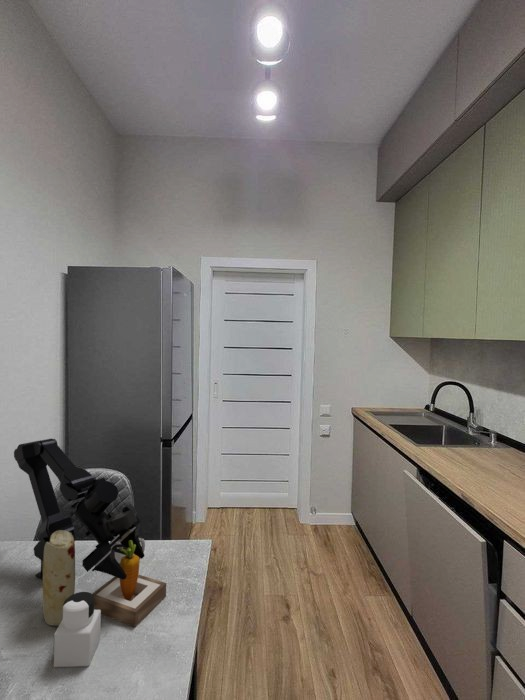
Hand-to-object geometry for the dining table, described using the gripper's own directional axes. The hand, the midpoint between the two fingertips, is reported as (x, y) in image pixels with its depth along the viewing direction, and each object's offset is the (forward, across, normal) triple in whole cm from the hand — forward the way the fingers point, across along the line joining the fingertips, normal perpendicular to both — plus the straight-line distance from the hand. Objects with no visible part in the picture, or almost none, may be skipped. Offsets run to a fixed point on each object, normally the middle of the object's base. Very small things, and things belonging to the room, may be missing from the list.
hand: (134, 567), depth 99 cm
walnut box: (+6, 0, +8) cm, 10 cm away
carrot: (+5, 0, +8) cm, 9 cm away
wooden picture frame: (+6, 0, +8) cm, 10 cm away
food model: (-4, -8, +17) cm, 19 cm away
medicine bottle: (+4, -17, +10) cm, 20 cm away
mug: (-2, +18, +15) cm, 24 cm away
